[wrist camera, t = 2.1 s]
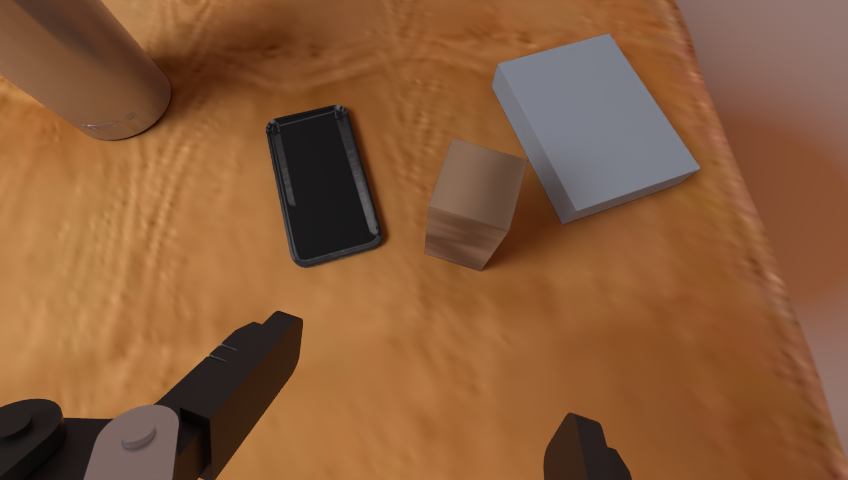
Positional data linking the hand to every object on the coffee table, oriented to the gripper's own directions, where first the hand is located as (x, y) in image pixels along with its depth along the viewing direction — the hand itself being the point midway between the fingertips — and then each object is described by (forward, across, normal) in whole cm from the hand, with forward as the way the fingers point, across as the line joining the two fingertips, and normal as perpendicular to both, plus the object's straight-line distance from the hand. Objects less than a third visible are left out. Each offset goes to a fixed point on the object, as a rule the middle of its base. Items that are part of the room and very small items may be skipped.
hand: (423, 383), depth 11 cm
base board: (+31, -8, -5) cm, 33 cm away
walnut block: (+21, 0, +5) cm, 22 cm away
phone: (+22, +14, +4) cm, 27 cm away
